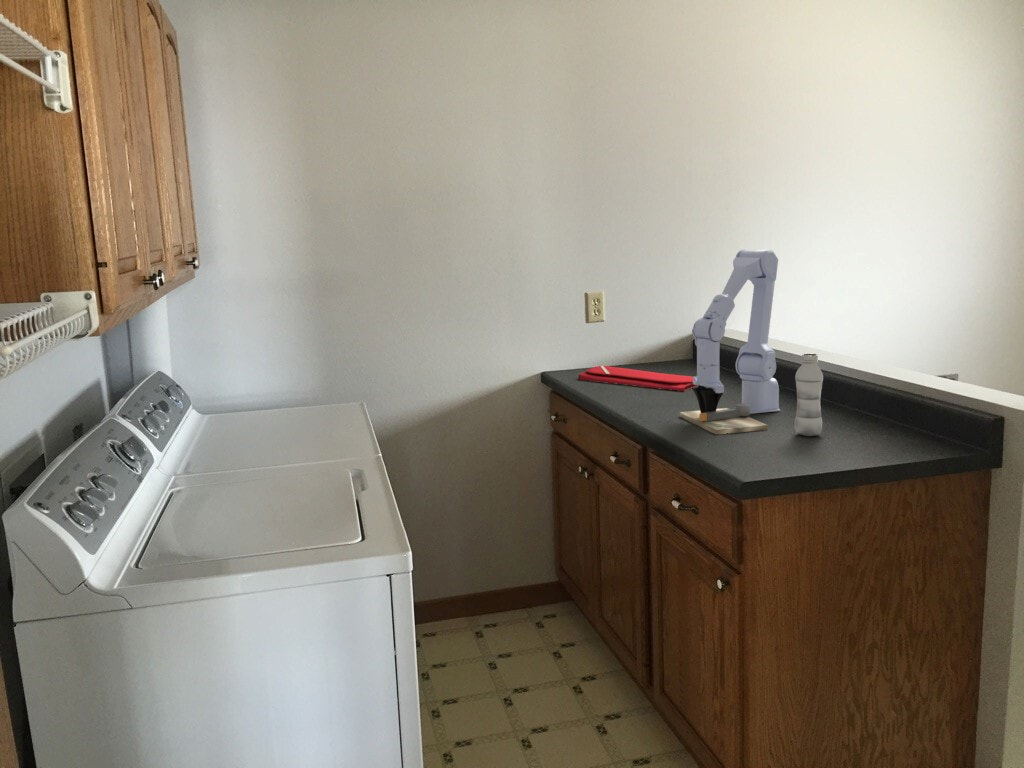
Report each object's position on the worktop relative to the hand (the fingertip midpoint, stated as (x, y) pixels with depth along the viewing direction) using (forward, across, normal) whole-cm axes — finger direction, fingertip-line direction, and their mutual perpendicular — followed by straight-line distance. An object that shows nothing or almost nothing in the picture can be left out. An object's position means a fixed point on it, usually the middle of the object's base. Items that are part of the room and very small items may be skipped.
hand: (707, 415), depth 238 cm
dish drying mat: (+3, -61, +5) cm, 61 cm away
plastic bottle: (+2, +22, +16) cm, 27 cm away
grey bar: (0, +3, +4) cm, 5 cm away
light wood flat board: (+2, +2, +3) cm, 4 cm away
